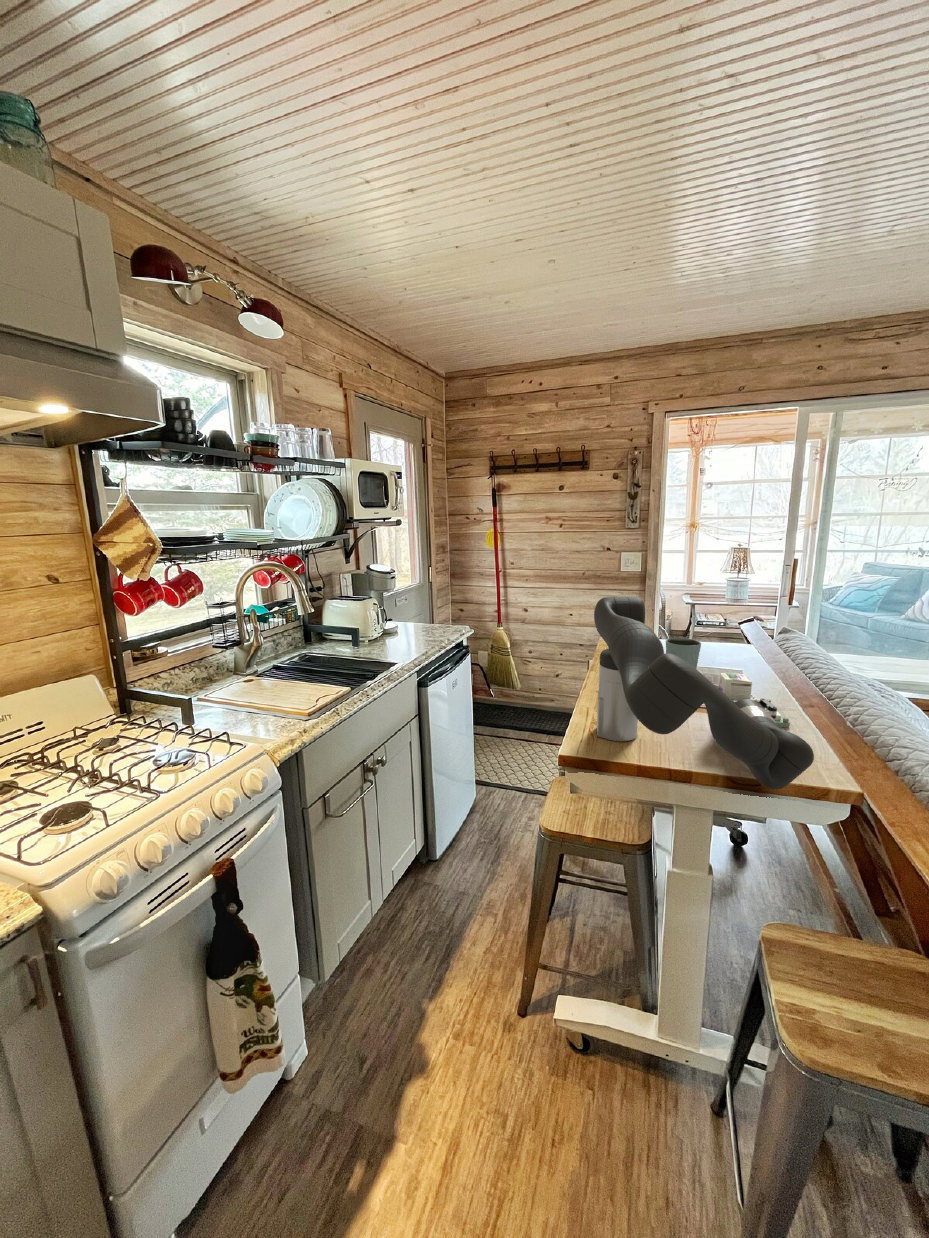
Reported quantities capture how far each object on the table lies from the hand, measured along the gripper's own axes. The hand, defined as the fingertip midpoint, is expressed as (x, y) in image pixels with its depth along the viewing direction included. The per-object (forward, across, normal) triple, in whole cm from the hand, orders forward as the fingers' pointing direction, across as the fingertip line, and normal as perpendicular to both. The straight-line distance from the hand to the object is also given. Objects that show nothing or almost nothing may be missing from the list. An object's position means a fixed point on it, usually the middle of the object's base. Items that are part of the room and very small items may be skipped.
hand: (730, 695), depth 124 cm
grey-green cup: (+40, -4, -9) cm, 41 cm away
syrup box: (-2, 0, -9) cm, 10 cm away
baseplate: (+12, +8, -9) cm, 17 cm away
